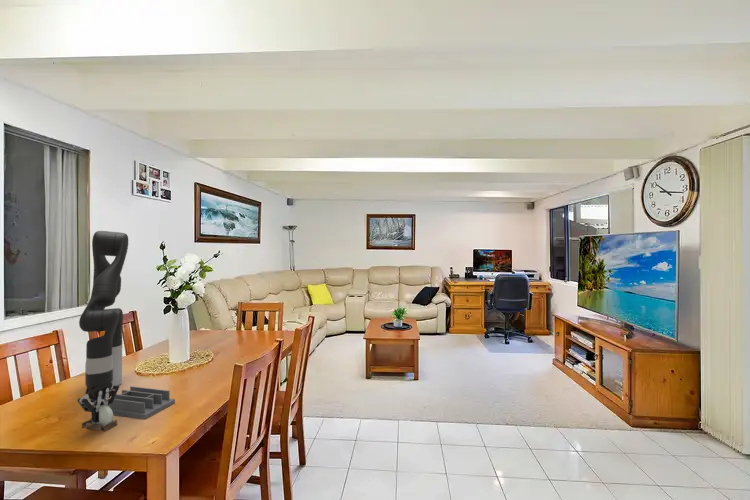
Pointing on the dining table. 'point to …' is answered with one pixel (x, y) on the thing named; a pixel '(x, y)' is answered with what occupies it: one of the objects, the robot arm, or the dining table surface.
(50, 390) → the dining table surface
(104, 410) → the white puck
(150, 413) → the rack
